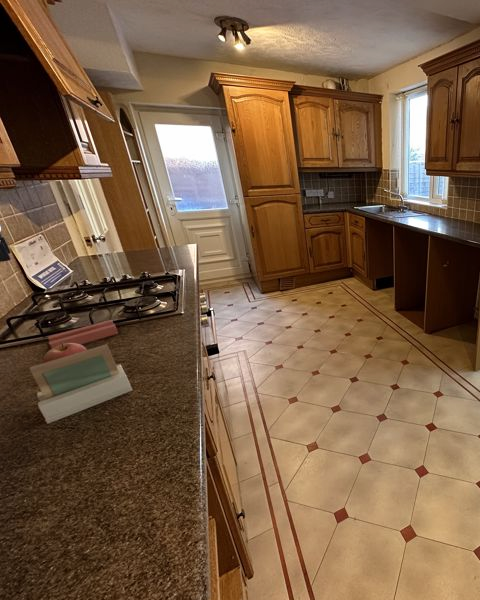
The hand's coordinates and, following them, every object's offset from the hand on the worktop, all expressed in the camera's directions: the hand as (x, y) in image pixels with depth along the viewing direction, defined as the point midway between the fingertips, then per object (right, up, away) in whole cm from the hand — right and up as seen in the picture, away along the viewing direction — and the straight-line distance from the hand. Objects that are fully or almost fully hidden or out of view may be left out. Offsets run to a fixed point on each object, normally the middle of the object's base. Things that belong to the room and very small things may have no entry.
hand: (1, 257), depth 76 cm
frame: (+25, -31, -4) cm, 40 cm away
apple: (+11, -28, +6) cm, 31 cm away
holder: (+25, -32, -4) cm, 41 cm away
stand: (+2, -23, +19) cm, 30 cm away
